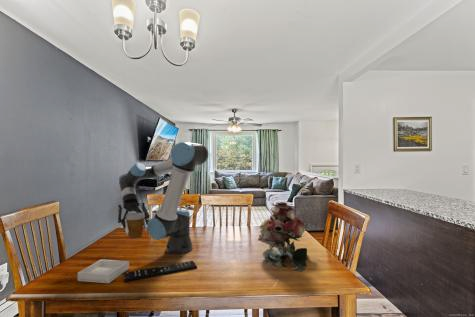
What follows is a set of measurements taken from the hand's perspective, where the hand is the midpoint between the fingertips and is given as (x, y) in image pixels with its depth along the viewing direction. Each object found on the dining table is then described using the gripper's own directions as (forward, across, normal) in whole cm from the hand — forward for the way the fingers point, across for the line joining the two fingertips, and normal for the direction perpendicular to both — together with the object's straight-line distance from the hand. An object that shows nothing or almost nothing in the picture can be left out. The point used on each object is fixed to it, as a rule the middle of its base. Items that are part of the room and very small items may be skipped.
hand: (136, 231), depth 129 cm
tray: (+15, +16, -7) cm, 23 cm away
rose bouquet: (+41, -63, +18) cm, 77 cm away
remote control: (+25, -6, +2) cm, 26 cm away
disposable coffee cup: (0, 0, -5) cm, 5 cm away
